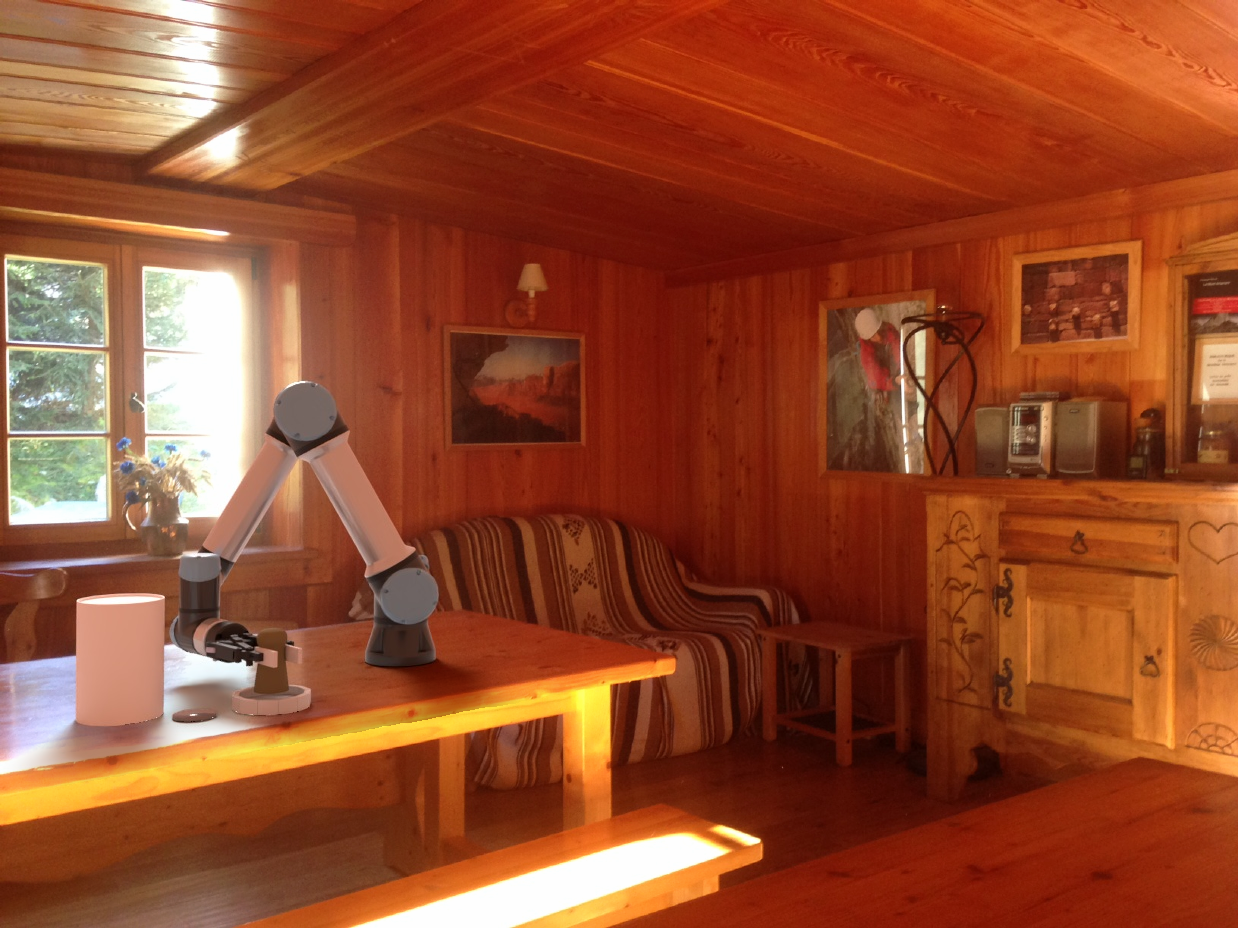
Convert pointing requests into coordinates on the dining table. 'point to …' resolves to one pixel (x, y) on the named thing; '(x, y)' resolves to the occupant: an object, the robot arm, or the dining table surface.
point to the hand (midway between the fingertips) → (287, 657)
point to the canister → (119, 659)
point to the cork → (267, 676)
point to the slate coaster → (194, 715)
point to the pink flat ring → (271, 701)
